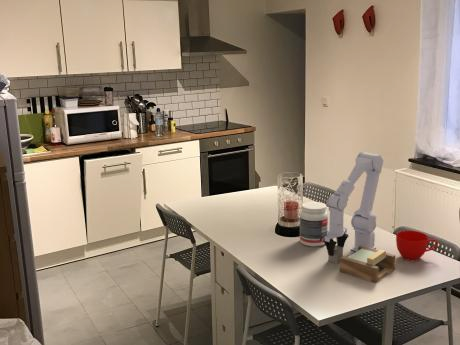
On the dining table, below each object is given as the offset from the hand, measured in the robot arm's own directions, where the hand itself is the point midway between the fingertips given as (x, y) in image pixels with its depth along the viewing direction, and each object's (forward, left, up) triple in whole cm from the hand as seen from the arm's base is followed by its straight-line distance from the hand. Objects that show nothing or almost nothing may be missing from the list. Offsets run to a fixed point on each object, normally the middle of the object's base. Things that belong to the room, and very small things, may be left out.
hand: (335, 252), depth 219 cm
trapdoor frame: (0, +15, -4) cm, 15 cm away
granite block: (0, 0, -4) cm, 4 cm away
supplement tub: (-11, -19, -4) cm, 22 cm away
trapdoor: (0, +14, +1) cm, 15 cm away
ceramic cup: (-24, +25, -4) cm, 35 cm away
